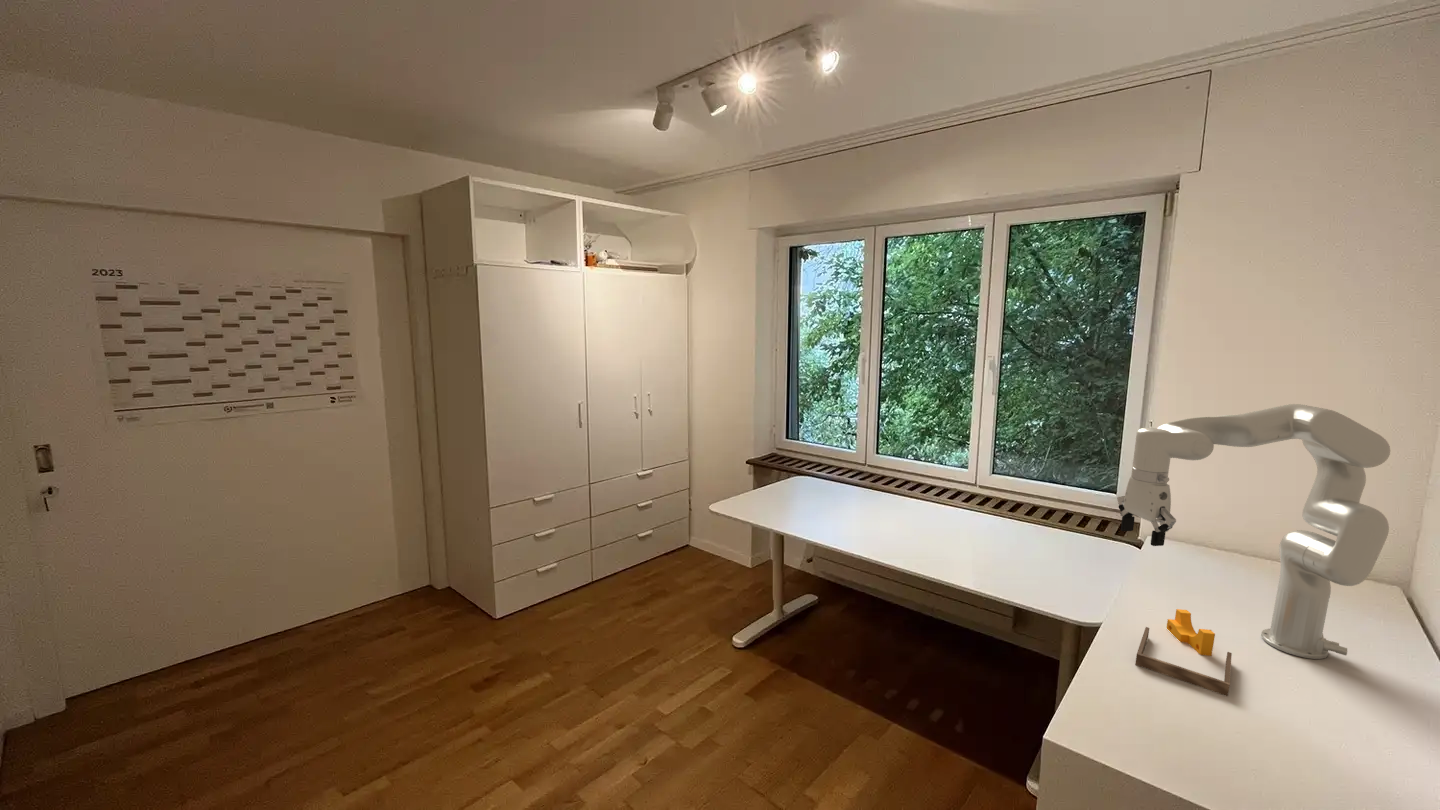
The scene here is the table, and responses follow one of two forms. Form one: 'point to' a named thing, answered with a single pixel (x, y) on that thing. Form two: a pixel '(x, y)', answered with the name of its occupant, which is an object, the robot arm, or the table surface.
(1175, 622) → the pipe clamp
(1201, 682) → the walnut bay
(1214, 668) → the table surface
